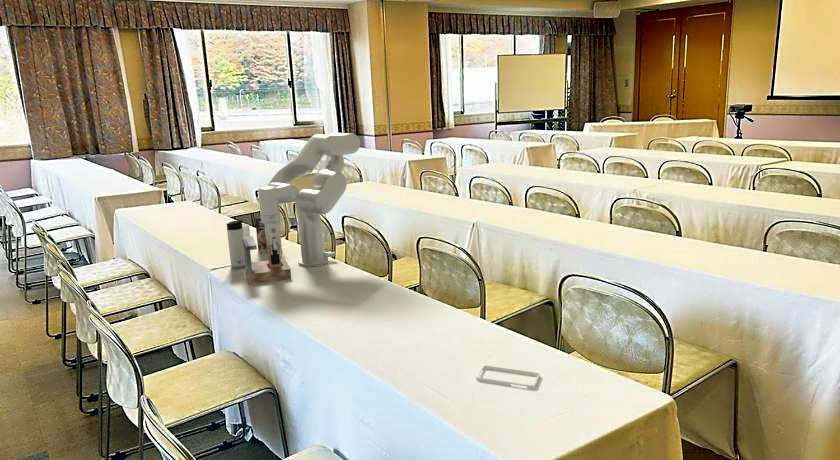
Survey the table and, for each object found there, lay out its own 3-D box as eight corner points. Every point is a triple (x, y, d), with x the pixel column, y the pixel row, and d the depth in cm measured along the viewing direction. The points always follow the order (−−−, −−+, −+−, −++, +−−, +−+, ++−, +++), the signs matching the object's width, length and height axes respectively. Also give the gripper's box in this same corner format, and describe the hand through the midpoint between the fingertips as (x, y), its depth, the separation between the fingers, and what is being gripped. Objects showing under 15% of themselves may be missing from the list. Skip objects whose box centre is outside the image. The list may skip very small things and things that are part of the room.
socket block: (285, 267, 257) (282, 232, 254) (291, 278, 243) (288, 241, 239) (246, 272, 252) (242, 237, 248) (249, 284, 237) (245, 246, 234)
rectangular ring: (540, 377, 158) (483, 369, 163) (540, 372, 158) (483, 364, 163) (534, 391, 151) (475, 382, 157) (534, 386, 151) (475, 377, 156)
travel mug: (243, 269, 257) (238, 222, 252) (228, 268, 258) (223, 222, 253) (249, 264, 263) (245, 219, 258) (235, 264, 264) (230, 218, 259)
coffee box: (257, 252, 282) (254, 218, 278) (266, 248, 287) (262, 215, 283) (274, 254, 278) (271, 219, 274) (282, 250, 284) (279, 216, 280)
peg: (280, 270, 251) (277, 241, 248) (282, 273, 247) (279, 244, 244) (269, 271, 249) (266, 242, 246) (270, 274, 245) (267, 245, 242)
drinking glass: (255, 257, 274) (252, 224, 270) (245, 261, 268) (241, 227, 265) (243, 255, 277) (240, 223, 273) (233, 260, 271) (229, 226, 267)
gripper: (283, 221, 236) (287, 266, 241) (277, 212, 252) (281, 255, 256) (263, 223, 234) (267, 269, 238) (258, 214, 249) (263, 258, 254)
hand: (274, 261), depth 247 cm, fingers closed on peg, 4 cm apart
